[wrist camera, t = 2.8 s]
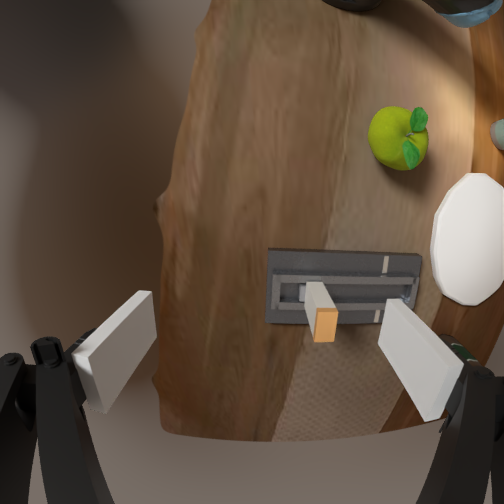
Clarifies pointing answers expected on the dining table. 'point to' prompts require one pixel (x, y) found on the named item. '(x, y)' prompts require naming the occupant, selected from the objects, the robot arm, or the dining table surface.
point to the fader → (319, 310)
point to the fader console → (340, 282)
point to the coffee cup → (498, 134)
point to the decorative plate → (469, 240)
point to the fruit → (399, 137)
